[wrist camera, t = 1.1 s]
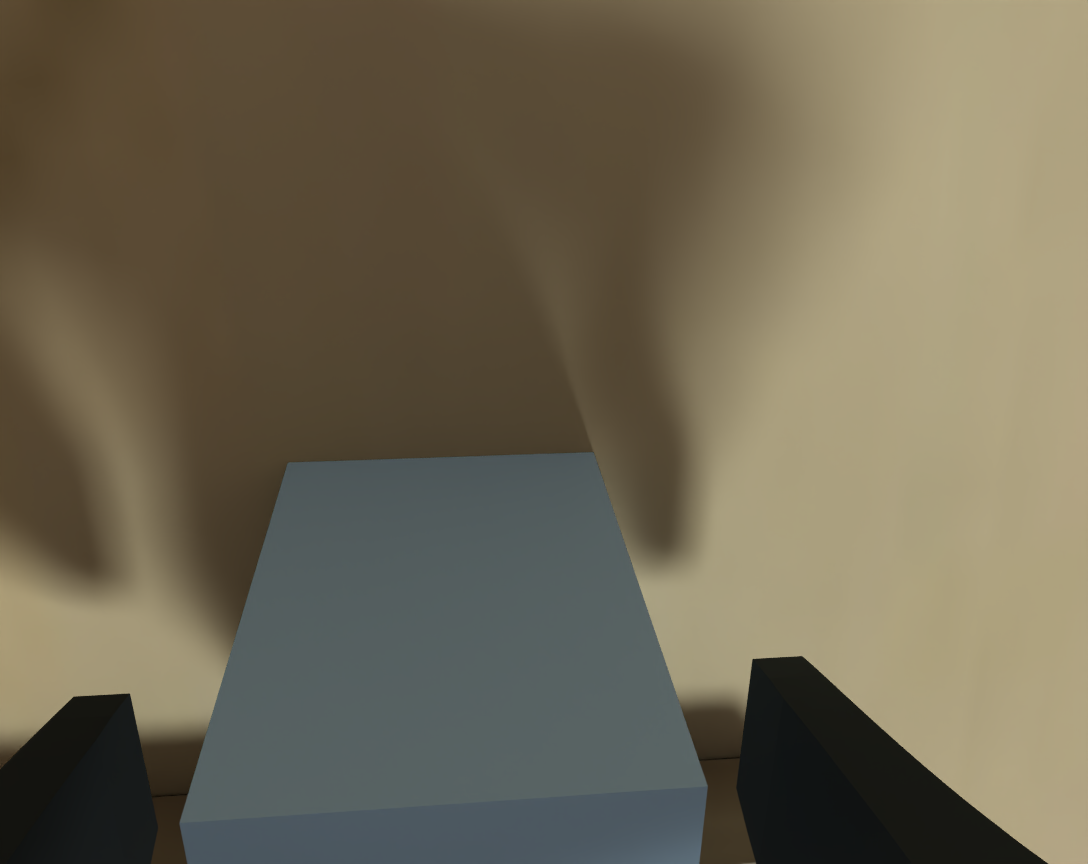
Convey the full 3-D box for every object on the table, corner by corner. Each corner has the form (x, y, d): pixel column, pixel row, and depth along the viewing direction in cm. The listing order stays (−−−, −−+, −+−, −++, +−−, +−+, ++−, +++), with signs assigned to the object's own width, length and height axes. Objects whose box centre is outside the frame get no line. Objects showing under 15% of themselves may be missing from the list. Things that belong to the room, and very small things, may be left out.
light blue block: (576, 877, 16) (648, 1322, 11) (335, 896, 16) (286, 1366, 11) (593, 450, 13) (706, 786, 8) (288, 461, 13) (178, 822, 7)
